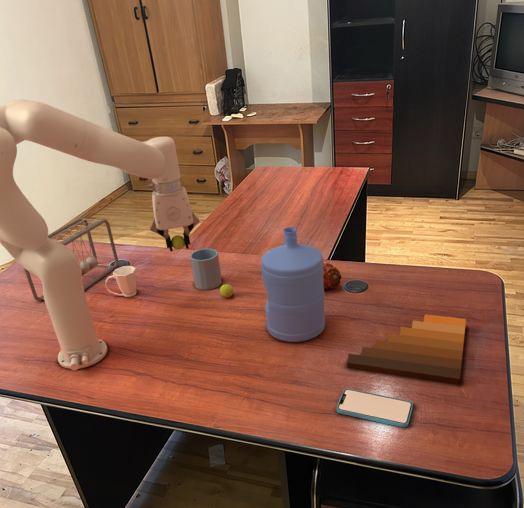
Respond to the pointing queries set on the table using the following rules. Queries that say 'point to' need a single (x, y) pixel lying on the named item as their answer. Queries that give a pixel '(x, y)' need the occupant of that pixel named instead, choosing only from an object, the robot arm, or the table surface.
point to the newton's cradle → (90, 260)
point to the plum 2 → (226, 290)
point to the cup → (125, 280)
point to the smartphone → (375, 407)
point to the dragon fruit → (331, 276)
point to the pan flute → (418, 351)
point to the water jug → (294, 290)
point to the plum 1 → (178, 242)
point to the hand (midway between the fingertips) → (179, 247)
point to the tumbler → (206, 269)
